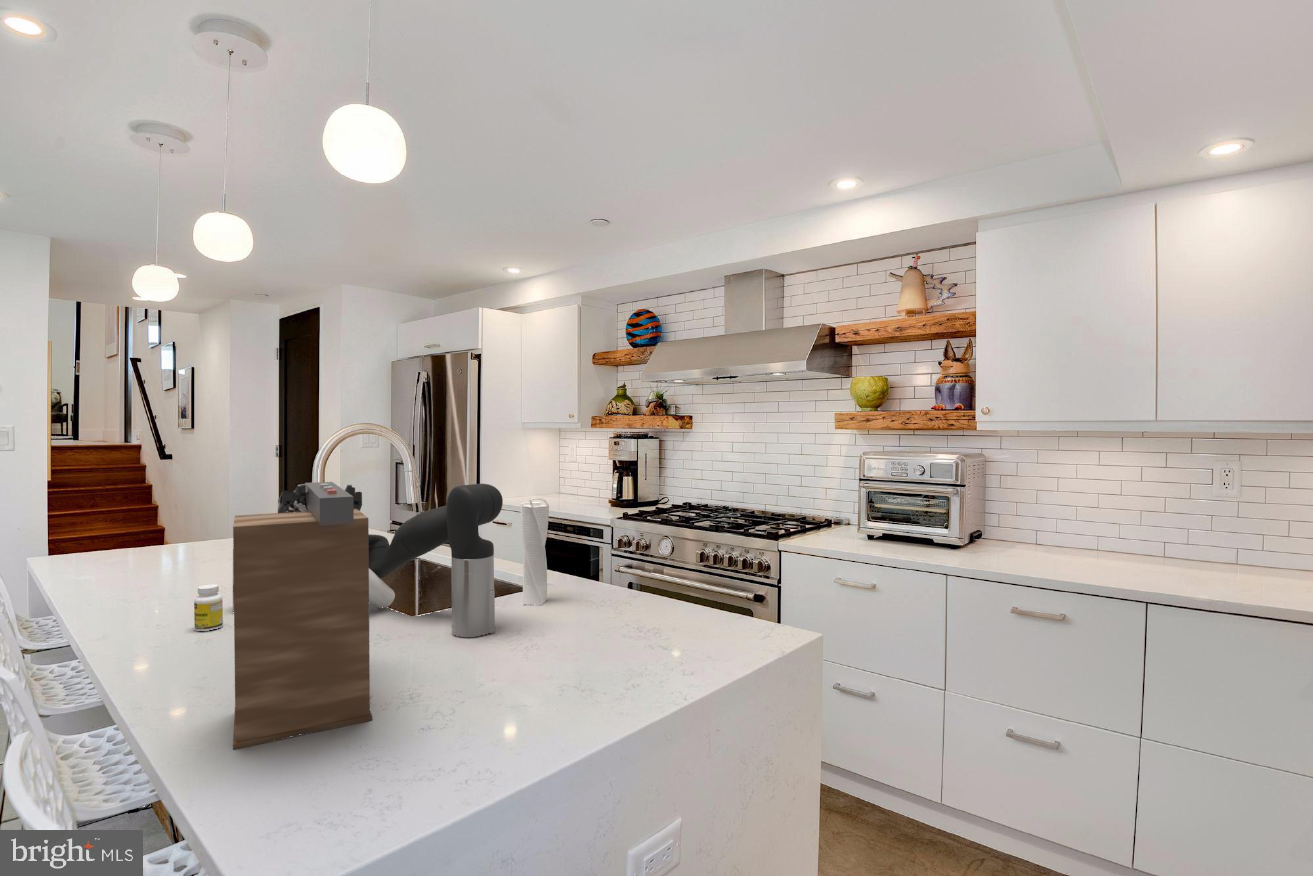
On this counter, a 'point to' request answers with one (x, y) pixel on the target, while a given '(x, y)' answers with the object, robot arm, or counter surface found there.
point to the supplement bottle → (208, 608)
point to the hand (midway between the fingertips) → (326, 489)
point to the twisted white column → (534, 551)
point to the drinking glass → (379, 591)
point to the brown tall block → (299, 625)
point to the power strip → (329, 503)
